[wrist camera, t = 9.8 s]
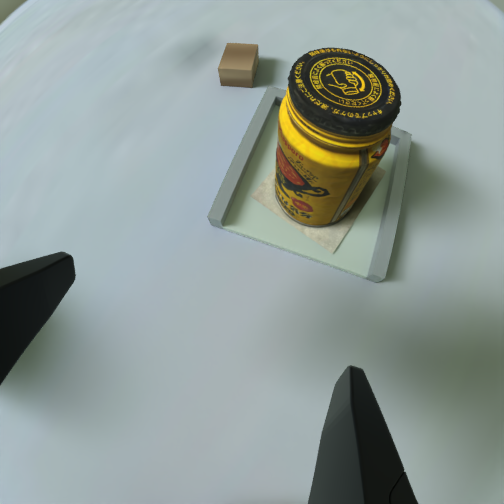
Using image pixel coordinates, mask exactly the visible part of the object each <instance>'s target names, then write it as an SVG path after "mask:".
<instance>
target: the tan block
mask: <svg viewBox="0 0 504 504" xmlns="http://www.w3.org/2000/svg"><path fill="white" fill-rule="evenodd" d="M258 62H259V59H258V45H257V44H240V43H227V45H226V48H225V51H224V53H223V56H222V59H221V61H220V64H219V67H218V72H219V77H220V83H221V86H235V87H249V88H252V86H253V82H254V78H255V74H256V70H257V66H258Z"/></svg>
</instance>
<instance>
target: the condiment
mask: <svg viewBox="0 0 504 504" xmlns="http://www.w3.org/2000/svg"><path fill="white" fill-rule="evenodd" d="M288 81H289V84H288V88H287V91H286V95H285V96H284V98H283V100H282V103H281V106H280V110H279V116H278V136H277V148H276V166H275V168H274V169H273V170H272V172H271V173H270V174H269V175H268V176H267V177H266V179H265V180H264V181H263V182H262V183H261V184H260V186H259V187H258V188H257V189H256V190H255V192H254V193H253V194H252V195H251V196H250V197H252V198H253V199H255V200H256V201H258V202H259V203H261V204H262V205H263V206H265V207H266V208H268V209H269V210H270V211H272V212H273V213H275V214H276V215H277V216H279V217H280V218H282V219H283V220H284V221H286V222H287V223H289V224H290V225H292V226H293V227H295V228H296V229H297V230H299V231H300V232H302V233H303V234H305V235H306V236H307V237H309V238H310V239H312V240H313V241H315V242H316V243H318V244H319V245H321V246H322V247H323V248H325V249H326V250H327V251H329V252H330V253H331V254H332V253H333V252H334V251H335V249H336V248H337V246H338V245H339V243H340V242H341V240H342V239H343V237H344V236H345V234H346V233H347V231H348V230H349V229H350V227H351V226H352V224H353V223H354V221H355V220H356V218H357V216H358V215H359V213H360V212H361V210H362V209H363V207H364V206H365V204H366V203H367V201H368V200H369V198H370V197H371V195H372V194H373V192H374V190H375V189H376V187H377V186H378V184H379V182H380V181H381V179H382V178H383V176H384V175H385V173H386V171H385V170H383V169H382V168H380V167H379V166H378V165H379V163H380V161H381V159H382V158H383V156H384V155H385V152H386V151H387V148H388V146H389V144H390V140H391V128H392V124H393V122H394V121H395V119H396V118H397V115H398V114H399V112H400V108H399V107H400V106H401V101H400V100H401V95H400V90H399V88H398V86H397V84H396V83H395V81H394V79H393V78H392V76H391V75H390V74H389V73H388V71H387V70H386V69H385V68H384V67H383V66H382V65H380V64H378V63H377V62H376V61H374V60H373V59H371V58H369V57H367V56H365V55H363V54H360V53H357V52H355V51H353V50H348V49H340V48H322V49H318V50H314V51H309V52H308V53H306V54H304V55H303V56H302V57H300V58H299V59H298V60H297V61H296V62H295V63H294V65H293V66H292V69H291V71H290V75H289V77H288Z"/></svg>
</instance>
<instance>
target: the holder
mask: <svg viewBox="0 0 504 504" xmlns="http://www.w3.org/2000/svg"><path fill="white" fill-rule="evenodd" d="M285 95H286V90H283V89H279V88H275V87H271V86H268V88H267V90H266V92H265V94H264V96H263V98H262V100H261V102H260V104H259V106H258V108H257V110H256V112H255V114H254V116H253V118H252V120H251V122H250V124H249V126H248V128H247V131H246V133H245V135H244V137H243V139H242V141H241V143H240V145H239V147H238V150H237V152H236V154H235V156H234V158H233V160H232V163H231V165H230V167H229V169H228V171H227V173H226V176H225V178H224V180H223V182H222V185H221V187H220V189H219V191H218V194H217V196H216V198H215V200H214V203H213V205H212V207H211V209H210V212H209V214H208V216H207V217H208V219H209V221H210V223H211V225H212V226H215V227H218V228H221V229H224V230H227V231H230V232H233V233H236V234H239V235H241V236H244V237H247V238H250V239H253V240H256V241H259V242H262V243H265V244H268V245H270V246H273V247H276V248H279V249H282V250H285V251H288V252H291V253H293V254H296V255H299V256H302V257H305V258H308V259H311V260H313V261H316V262H319V263H322V264H325V265H328V266H330V267H333V268H336V269H339V270H342V271H344V272H347V273H350V274H353V275H356V276H359V277H361V278H364V279H367V280H370V281H373V282H375V283H377V282H379V281H381V280H383V279H385V276H386V272H387V268H388V264H389V260H390V256H391V252H392V248H393V243H394V239H395V234H396V229H397V224H398V220H399V214H400V209H401V204H402V198H403V193H404V187H405V180H406V174H407V167H408V160H409V153H410V145H411V136H412V134H410V133H408V132H406V131H403V130H401V129H399V128H396V127H394V126H392V128H391V140H390V144H389V146H388V148H387V151H386V152H385V155H384V156H383V158H382V159H381V161H380V163H379V165H378V166H379V167H380V168H382V169H383V170H385V171H386V173H385V175H384V176H383V178H382V179H381V181H380V182H379V184H378V186H377V187H376V189H375V190H374V192H373V194H372V195H371V197H370V198H369V200H368V201H367V203H366V204H365V206H364V207H363V209H362V210H361V212H360V213H359V215H358V216H357V218H356V220H355V221H354V223H353V224H352V226H351V227H350V229H349V230H348V231H347V233H346V234H345V236H344V237H343V239H342V240H341V242H340V243H339V245H338V246H337V248H336V249H335V251H334V252H333V253H332V254H331V253H330V252H329V251H327V250H326V249H325V248H323V247H322V246H321V245H319V244H318V243H316V242H315V241H313V240H312V239H310V238H309V237H307V236H306V235H305V234H303V233H302V232H300V231H299V230H297V229H296V228H295V227H293V226H292V225H290V224H289V223H287V222H286V221H284V220H283V219H282V218H280V217H279V216H277V215H276V214H275V213H273V212H272V211H270V210H269V209H268V208H266V207H265V206H263V205H262V204H261V203H259V202H258V201H256V200H255V199H253V198H252V197H250V196H251V195H252V194H253V193H254V192H255V190H256V189H257V188H258V187H259V186H260V184H261V183H262V182H263V181H264V180H265V179H266V177H267V176H268V175H269V174H270V173H271V172H272V170H273V169H274V168H275V166H276V148H277V136H278V116H279V110H280V106H281V103H282V100H283V98H284V96H285Z"/></svg>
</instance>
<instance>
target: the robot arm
mask: <svg viewBox="0 0 504 504" xmlns="http://www.w3.org/2000/svg"><path fill="white" fill-rule="evenodd" d="M75 276H76V275H75V268H74V260H73V257H72V256H71V255H69V254H67V253H65V252H58V253H54V254H51V255H47V256H43V257H40V258H36V259H33V260H29V261H26V262H22V263H19V264H15V265H12V266H8V267H5V268H1V269H0V385H1V384H2V382H3V381H4V379H5V378H6V376H7V375H8V373H9V372H10V370H11V369H12V367H13V366H14V365H15V363H16V362H17V360H18V359H19V358H20V356H21V355H22V353H23V352H24V351H25V349H26V348H27V347H28V345H29V344H30V343H31V341H32V340H33V339H34V337H35V336H36V335H37V333H38V332H39V331H40V329H41V328H42V327H43V326H44V324H45V323H46V322H47V320H48V319H49V318H50V317H51V315H52V314H53V312H54V311H55V309H56V308H57V306H58V305H59V303H60V302H61V300H62V299H63V297H64V296H65V294H66V293H67V291H68V290H69V288H70V287H71V285H72V284H73V282H74V280H75ZM308 504H418V502H417V500H416V497H415V495H414V492H413V490H412V487H411V485H410V483H409V480H408V477H407V475H406V472H404V467H403V464H402V462H401V459H400V457H399V454H398V452H397V449H396V447H395V444H394V442H393V439H392V437H391V434H390V432H389V429H388V427H387V424H386V422H385V419H384V417H383V415H382V412H381V410H380V407H379V405H378V403H377V400H376V398H375V396H374V393H373V391H372V389H371V386H370V384H369V382H368V380H367V377H366V375H365V373H364V371H363V369H361V368H358V367H355V366H352V365H350V366H348V367H347V368H346V370H345V371H344V372H343V374H342V375H341V376H340V378H339V379H338V381H337V382H336V384H335V387H334V390H333V394H332V398H331V402H330V405H329V409H328V413H327V416H326V420H325V423H324V427H323V430H322V435H321V440H320V445H319V451H318V456H317V462H316V467H315V472H314V477H313V482H312V487H311V492H310V496H309V501H308Z"/></svg>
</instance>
